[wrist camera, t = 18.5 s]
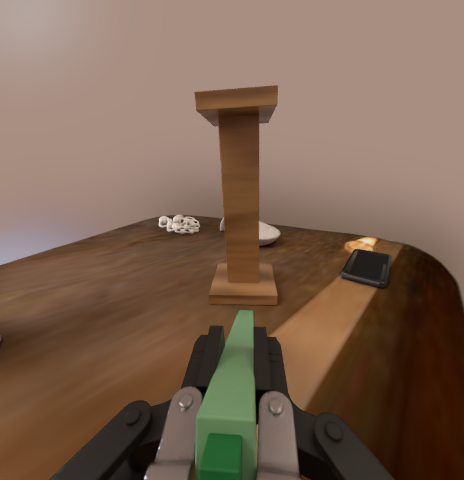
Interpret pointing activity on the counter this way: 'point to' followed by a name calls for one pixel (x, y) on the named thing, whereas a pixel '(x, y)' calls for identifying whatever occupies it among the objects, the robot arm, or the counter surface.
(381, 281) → the phone
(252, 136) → the wooden pedestal stand
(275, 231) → the spoon rest
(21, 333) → the counter surface
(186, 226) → the tangled rod sculpture
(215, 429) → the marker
